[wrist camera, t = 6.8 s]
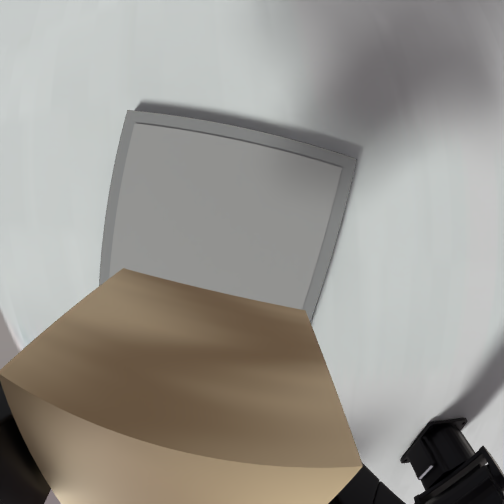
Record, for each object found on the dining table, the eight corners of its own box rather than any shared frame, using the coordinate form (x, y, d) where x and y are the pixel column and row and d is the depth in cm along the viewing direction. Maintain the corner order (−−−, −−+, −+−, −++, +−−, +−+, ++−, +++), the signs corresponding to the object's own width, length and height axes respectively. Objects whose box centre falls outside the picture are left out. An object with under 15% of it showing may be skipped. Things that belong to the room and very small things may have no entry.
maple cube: (305, 310, 8) (362, 465, 3) (259, 432, 9) (263, 557, 4) (123, 268, 7) (-3, 373, 2) (120, 399, 9) (65, 509, 4)
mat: (352, 160, 16) (357, 158, 16) (292, 361, 20) (293, 368, 19) (132, 112, 16) (126, 109, 15) (103, 313, 19) (97, 319, 18)
